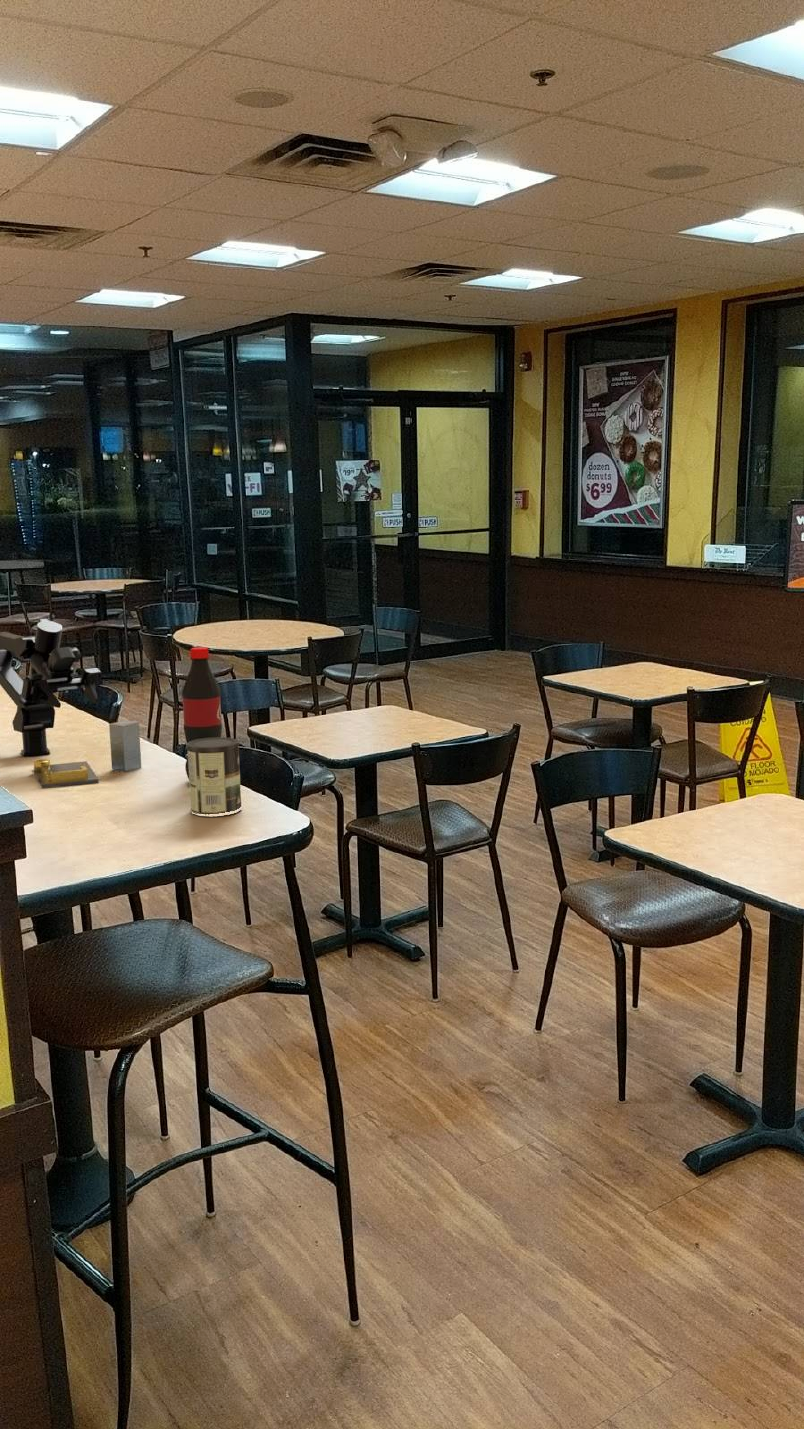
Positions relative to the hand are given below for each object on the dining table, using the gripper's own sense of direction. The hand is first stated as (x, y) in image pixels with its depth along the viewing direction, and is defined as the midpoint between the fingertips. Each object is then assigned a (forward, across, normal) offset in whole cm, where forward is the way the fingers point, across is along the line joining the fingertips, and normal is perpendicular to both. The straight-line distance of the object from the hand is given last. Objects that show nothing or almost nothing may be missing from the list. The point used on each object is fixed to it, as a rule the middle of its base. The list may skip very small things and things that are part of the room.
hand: (78, 703), depth 253 cm
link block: (+13, +8, +11) cm, 19 cm away
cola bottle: (+34, +14, +1) cm, 37 cm away
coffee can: (+55, +2, -10) cm, 56 cm away
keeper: (+10, -6, +13) cm, 17 cm away
